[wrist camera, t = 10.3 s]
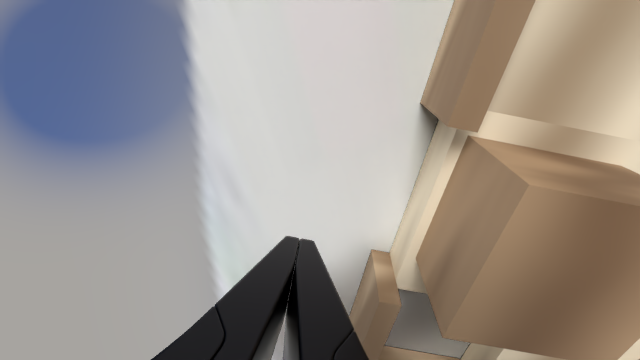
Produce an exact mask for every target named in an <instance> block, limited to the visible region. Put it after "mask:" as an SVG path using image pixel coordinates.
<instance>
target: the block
mask: <svg viewBox="0 0 640 360" xmlns="http://www.w3.org/2000/svg"><path fill="white" fill-rule="evenodd" d="M416 261H417V264H418V267H419V270H420V273H421V276H422V279H423V282H424V285H425V288H426V291H427V294H428V297H429V300H430V303H431V306H432V309H433V312H434V314H435V317H436V320H437V323H438V326H439V329H440V332H441V335H442V338H446V339H452V340H458V341H463V342H469V343H475V344H480V345H486V346H492V347H497V348H503V349H509V350H514V351H520V352H526V353H531V354H537V355H543V356H548V357H554V358H560V359H566V360H618V359H619V358H620V357H621V356H622V355H623V354H624V353H625V352H626V351H627V350H628V349H629V348H630V347H631V346H632V345H633V344H634V343H635V342H636V341H638V340H639V339H640V174H638V173H636V172H634V171H632V170H630V169H627V168H625V167H623V166H620V165H615V164H610V163H605V162H600V161H595V160H590V159H585V158H580V157H575V156H570V155H565V154H560V153H555V152H550V151H545V150H540V149H535V148H530V147H525V146H520V145H515V144H510V143H505V142H500V141H494V140H489V139H484V138H479V137H474V136H469V135H468V136H467V139H466V141H465V143H464V146H463V148H462V150H461V153H460V155H459V157H458V160H457V162H456V164H455V167H454V169H453V171H452V174H451V176H450V178H449V181H448V183H447V186H446V188H445V190H444V193H443V195H442V197H441V200H440V202H439V204H438V207H437V209H436V211H435V214H434V216H433V218H432V221H431V223H430V225H429V228H428V230H427V232H426V235H425V237H424V239H423V242H422V244H421V246H420V249H419V251H418V254H417V256H416Z"/></svg>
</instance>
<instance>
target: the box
mask: <svg viewBox="0 0 640 360" xmlns="http://www.w3.org/2000/svg"><path fill="white" fill-rule="evenodd" d="M420 103H421V104H422V105H423V106H424V107H426V108H427V109H428V110H429V111H430V112H431V113H432V114H433V115H435V116H436V117H437V118H438V119H439V121H438V123H437V126H436V129H435V131H434V134H433V137H432V139H431V142H430V145H429V148H428V150H427V153H426V156H425V158H424V161H423V164H422V167H421V169H420V172H419V175H418V177H417V180H416V183H415V185H414V188H413V191H412V194H411V196H410V199H409V202H408V204H407V207H406V210H405V213H404V215H403V218H402V221H401V223H400V226H399V229H398V231H397V234H396V237H395V240H394V242H393V245H392V248H391V250H390V253H388V252H382V251H377V250H371V253H370V256H369V259H368V262H367V265H366V268H365V271H364V274H363V277H362V280H361V283H360V286H359V289H358V292H357V295H356V298H355V301H354V304H353V307H352V310H351V313H350V316H349V318H350V321H351V323H352V325H353V327H354V331H355V332H356V333H357V336H358V338H359V340H360V342H361V344H362V346H363V348H364V350H365V352H366V354H367V356H368V358H369V360H566V359H560V358H554V357H548V356H543V355H537V354H531V353H526V352H520V351H514V350H509V349H503V348H497V347H492V346H486V345H480V344H475V343H471V344H470V345H469V347H468V348H467V350H466V351H465V353H464V354H463V356H462V358H461V359H458V358H453V357H447V356H441V355H435V354H429V353H424V352H418V351H412V350H406V349H401V348H395V347H389V346H384V345H385V343H386V341H387V338H388V336H389V334H390V331H391V329H392V327H393V325H394V322H395V320H396V318H397V315H398V313H399V311H400V309H401V306H402V305H401V301H400V296H399V292H398V289H403V290H408V291H414V292H419V293H425V294H427V291H426V288H425V285H424V282H423V279H422V276H421V273H420V270H419V267H418V264H417V261H416V256H417V254H418V251H419V249H420V246H421V244H422V242H423V239H424V237H425V235H426V232H427V230H428V228H429V225H430V223H431V221H432V218H433V216H434V214H435V211H436V209H437V207H438V204H439V202H440V200H441V197H442V195H443V193H444V190H445V188H446V186H447V183H448V181H449V178H450V176H451V174H452V171H453V169H454V167H455V164H456V162H457V160H458V157H459V155H460V153H461V150H462V148H463V146H464V143H465V141H466V139H467V136H468V135H469V136H474V137H479V138H484V139H489V140H494V141H500V142H505V143H510V144H515V145H520V146H525V147H530V148H535V149H540V150H545V151H550V152H555V153H560V154H565V155H570V156H575V157H580V158H585V159H590V160H595V161H600V162H605V163H610V164H615V165H620V166H623V167H625V168H627V169H630V170H632V171H634V172H636V173H638V174H640V0H454V3H453V6H452V9H451V12H450V15H449V18H448V21H447V24H446V27H445V30H444V33H443V36H442V39H441V42H440V45H439V48H438V51H437V54H436V57H435V60H434V63H433V66H432V69H431V72H430V75H429V78H428V81H427V84H426V87H425V90H424V93H423V96H422V99H421V102H420ZM618 360H640V339H639V340H638V341H636V342H635V343H634V344H633V345H632V346H631V347H630V348H629V349H628V350H627V351H626V352H625V353H624V354H623V355H622V356H621V357H620V358H619V359H618Z"/></svg>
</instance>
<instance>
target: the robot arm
mask: <svg viewBox="0 0 640 360" xmlns="http://www.w3.org/2000/svg"><path fill="white" fill-rule="evenodd" d="M298 246H299V247H298ZM297 251H298V252H297ZM296 256H297V257H296ZM295 262H296V263H295ZM294 267H295V268H294ZM293 272H294V273H293ZM292 278H293V279H292ZM291 283H292V284H291ZM290 288H291V289H290ZM289 293H290V294H289ZM288 299H289V300H288ZM287 304H288V305H287ZM286 309H287V311H286ZM285 313H286V320H285V335H284V351H283V360H369V358H368V356H367V354H366V352H365V350H364V348H363V346H362V344H361V342H360V340H359V338H358V336H357V333H356V332H355V331H354V327H353V325H352V323H351V321H350V318H349V316H348V314H347V312H346V310H345V308H344V305H343V303H342V301H341V299H340V297H339V295H338V292H337V290H336V288H335V286H334V284H333V282H332V279H331V277H330V275H329V273H328V271H327V269H326V266H325V264H324V262H323V260H322V258H321V256H320V253H319V251H318V249H317V247H316V245H315V243H314V241H312V240H307V239H300V242H299V238H296V237H291V236H286V237H285V238H284V239H282V240H281V241H280V242H279V243H278V244H277V245H276V246H275V247H274V248H273V249H272V250H271V251H270V252H269V253H268V254H267V255H266V256H265V257H264V258H263V259H262V260H261V261H260V262H259V263H258V264H257V265H256V266H254V267H253V268H252V269H251V270H250V271H249V272H248V273H247V274H246V275H245V276H244V277H243V278H242V279H241V280H240V281H239V282H238V283H237V284H236V285H235V286H234V287H233V288H232V289H231V290H230V291H229V292H228V293H227V294H225V295H224V296H223V297H222V298H221V299H220V300H219V301H218V302H217V303H216V304H215V307H212V308H211V309H210V310H209V311H208V312H207V313H206V314H205V315H204V316H203V317H201V318H200V320H198V321H197V322H196V323H195V324H194V325H193V326H192V327H191V328H189V329H188V330H187V331H186V332H185V333H184V334H182V335H181V336H180V337H179V338H178V339H176V340H175V341H174V342H173V343H171V344H170V345H169V346H168V347H166V348H165V349H164V350H163V351H161V352H160V353H159V354H158V355H156V356H155V357H154V358H152V359H151V360H271V358H272V355H273V352H274V349H275V345H276V342H277V339H278V336H279V333H280V330H281V327H282V324H283V320H284V317H285Z"/></svg>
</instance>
